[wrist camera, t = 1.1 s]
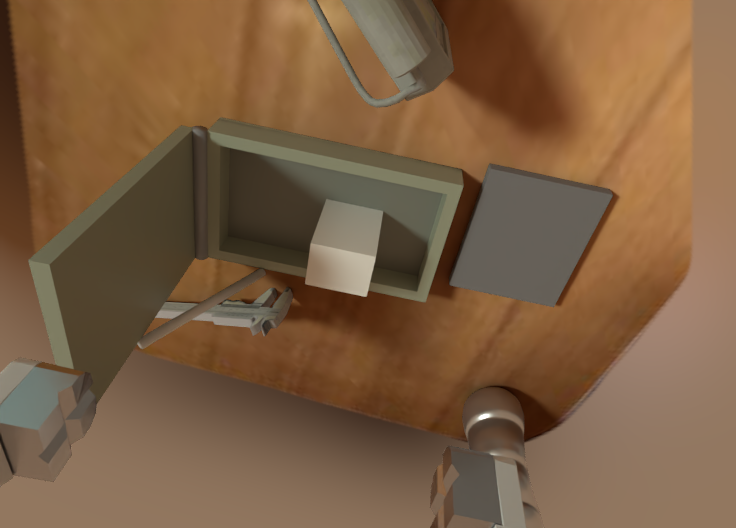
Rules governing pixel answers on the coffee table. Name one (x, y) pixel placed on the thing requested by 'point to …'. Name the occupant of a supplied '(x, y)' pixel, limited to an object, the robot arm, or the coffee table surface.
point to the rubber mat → (527, 234)
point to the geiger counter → (398, 44)
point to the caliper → (239, 311)
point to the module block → (344, 248)
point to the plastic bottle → (501, 437)
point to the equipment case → (227, 231)
